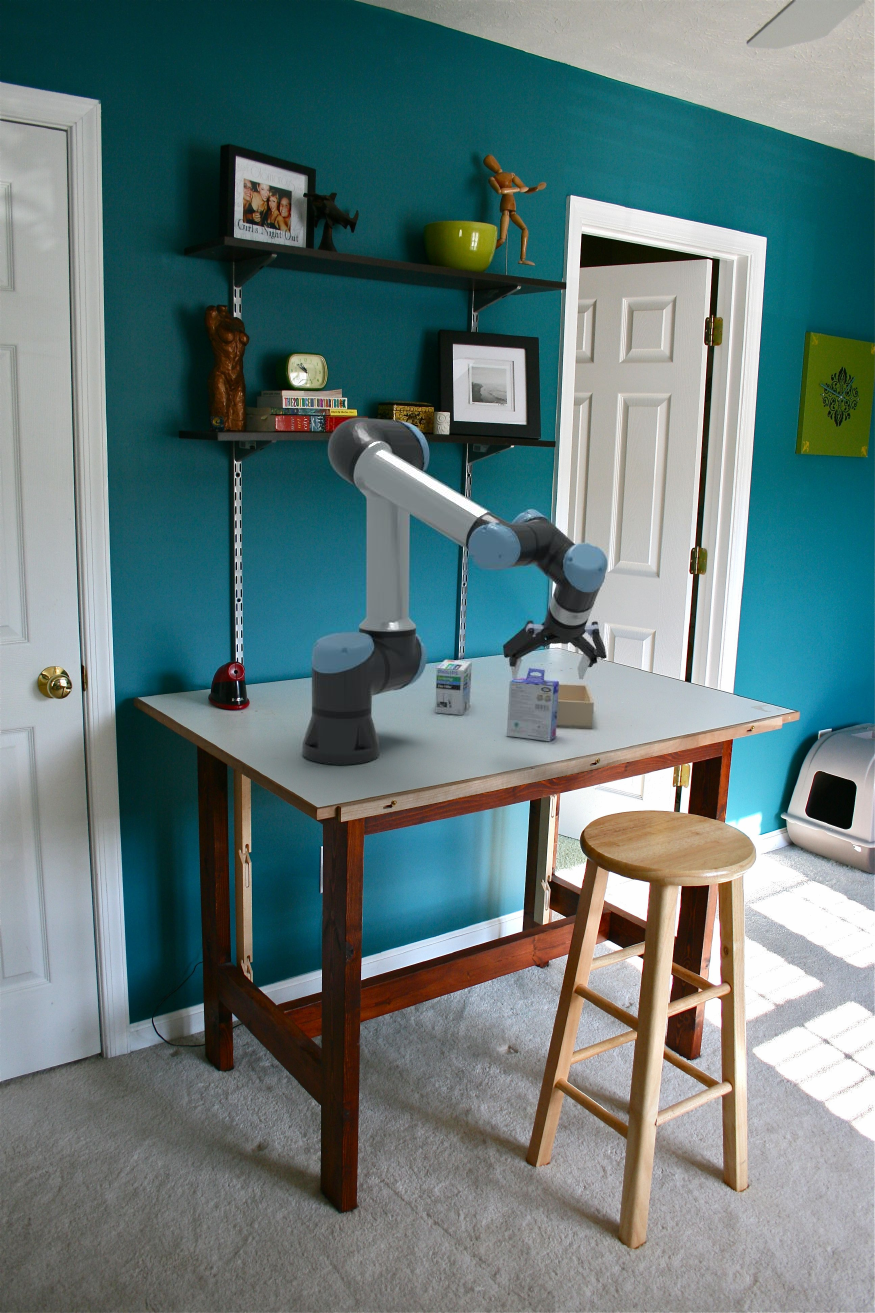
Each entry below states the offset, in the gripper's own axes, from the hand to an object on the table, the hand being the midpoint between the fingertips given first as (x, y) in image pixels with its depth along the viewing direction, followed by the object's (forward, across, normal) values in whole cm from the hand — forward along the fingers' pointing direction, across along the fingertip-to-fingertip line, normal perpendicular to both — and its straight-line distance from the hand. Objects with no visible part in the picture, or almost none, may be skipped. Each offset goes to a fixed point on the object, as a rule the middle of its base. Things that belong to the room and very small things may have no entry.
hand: (547, 673), depth 199 cm
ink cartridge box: (+19, 0, -4) cm, 20 cm away
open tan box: (+38, +11, +15) cm, 42 cm away
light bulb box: (+35, -14, +12) cm, 40 cm away
